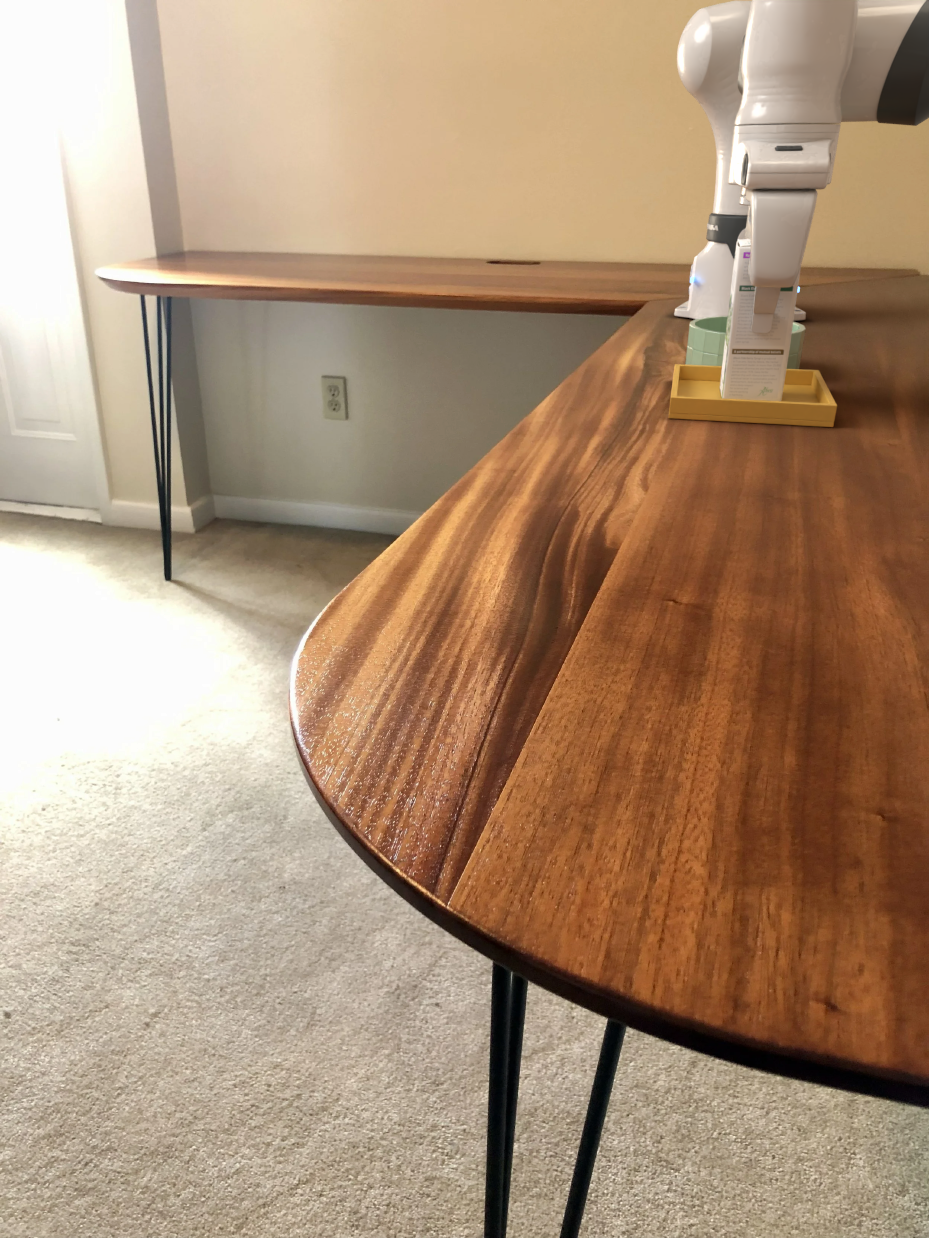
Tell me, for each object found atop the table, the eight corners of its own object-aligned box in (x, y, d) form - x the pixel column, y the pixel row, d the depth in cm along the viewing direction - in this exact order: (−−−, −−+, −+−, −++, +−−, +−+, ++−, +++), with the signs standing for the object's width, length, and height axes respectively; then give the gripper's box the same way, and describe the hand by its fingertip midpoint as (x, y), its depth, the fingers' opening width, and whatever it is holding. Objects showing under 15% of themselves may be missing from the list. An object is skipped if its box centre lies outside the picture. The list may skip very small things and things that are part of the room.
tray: (672, 382, 96) (674, 364, 95) (815, 389, 93) (819, 370, 92) (668, 418, 83) (670, 397, 82) (833, 427, 80) (837, 405, 79)
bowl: (685, 357, 108) (690, 314, 105) (792, 361, 105) (799, 317, 103) (683, 380, 97) (689, 333, 95) (802, 385, 94) (810, 337, 92)
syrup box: (782, 406, 85) (809, 243, 78) (719, 403, 86) (739, 242, 79) (776, 391, 90) (800, 237, 83) (716, 389, 91) (735, 236, 84)
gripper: (739, 161, 88) (721, 307, 94) (749, 165, 70) (726, 344, 77) (806, 160, 86) (783, 308, 93) (833, 165, 69) (803, 347, 75)
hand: (758, 325), depth 85 cm, fingers closed on syrup box, 6 cm apart
